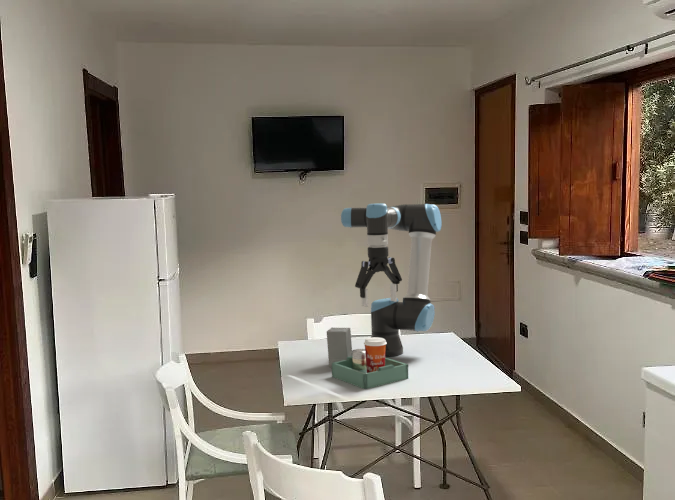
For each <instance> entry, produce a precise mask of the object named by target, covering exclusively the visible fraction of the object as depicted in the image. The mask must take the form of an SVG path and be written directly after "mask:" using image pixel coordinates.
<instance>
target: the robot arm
mask: <svg viewBox="0 0 675 500" xmlns="http://www.w3.org/2000/svg"><path fill="white" fill-rule="evenodd" d="M340 221H341V224H342V226H343V227H344V228H350V229H351V228H366V230H367V231H366V238H367V239H366V243H367V244H366V245H367V246H368V247H367V257H368V261H366V260H362V261H361V265H360V266H361V267H360V269H359V272H358V276H357V279H356V282H355V285H354V287H355V288H357V289H359V296H360V298H361V307H363V308H369V296H368V295H369V291H368V288H367V287H368V285H369V283H370V282H371V280H372V278H373V277H374V275H375V274H376V273H379V272H383V273H384V274H385V276H386V277H387V278H388V279H389V280H390V282H391V283H389V290H390V291H389V293H390V297H387V298H380V299H376V300H373V301H372V303H371V306H370V324H371V326H370V328H371V336H370V338H373V337H378V338H384V339H385V340H386V342H387V344H386V348H385V358H389V357H394V356H400V355H402V354H404V346H403V344H402V340H401V338H400V333H399V331H413V332H427V331H429V330H430V329H431V327H432V325H433V323H434V321H435V320H434V319H435V314H436V313H435V312H436V311H435V309H436V308H435V305H434V304H432V303H431V301H432V300H431V298H430V296H428V291H429V280H430V279H429V278H430V270H431V269H430V266H431V255H432V241H433V240H434V239H435V238H436V235H437V233H438V232H441V230H442V224H443V223H442V215H441V212H440V208H439V207H438V206H437V205H436V204H432V203H431V204H430V203H418V204H417V203H415V204H407V203H406V204H397V205H392V206H388V205H387V204H386V203H385V202H384V203H380V202H379V203H368V204H367V205H366V207H345V208H343V210H342V211H341V214H340ZM388 230H394V231H400V232H408V236H409V237H410V239H411V241H410V252H409V253H410V255H409V265H408V276H407V277H408V278H407V288H406V289H407V290H406V294H405V295H404V296H403V297H402V302H401V301H400V300H399V298H398V297H397V295H398V294H397V293H398V291H399V289H398V288H399V285H400V283H401V282H402V280H403V279H402V276H401V274H400V271H399V269H398V266H397V265H396V260H395V259H396V258H395V257H390V256H389V232H388Z"/></svg>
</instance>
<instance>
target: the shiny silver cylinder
mask: <svg viewBox="0 0 675 500" xmlns="http://www.w3.org/2000/svg"><path fill="white" fill-rule="evenodd" d="M352 368H353V369H354V370H357V371H360V372H363V373H367V367H366V354H365V348H355V349H352Z"/></svg>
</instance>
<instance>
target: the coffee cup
mask: <svg viewBox="0 0 675 500" xmlns="http://www.w3.org/2000/svg"><path fill="white" fill-rule="evenodd" d="M386 344H387V342H386V340H385V339H384V338H378V337H373V338H371V337H367V338H365V339H364V342H363V345H364V349H365V354H366V367H367V373H369V372H373V371H378V370H379V367H383V366H385V358H386V357H385V348H386Z"/></svg>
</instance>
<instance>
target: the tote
mask: <svg viewBox="0 0 675 500" xmlns="http://www.w3.org/2000/svg"><path fill="white" fill-rule="evenodd" d="M331 377H332V378H334V379H337V380H339V381H343V382H345V383H348V384H350V385H353V386H356V387H358V388H360V389H363V390H368V389H372V388H376V387H381V386H384V385H388V384H391V383H395V382H400V381H405V380H409V364H408V363H405V362H402V361H399V360H395V359H392V358H389V357H385V366H383V367H379V370H378V371H373V372H369V373H363V372H360V371H357V370H354V369H353V368H352V356H350V357H347V360H343V361H339V362H334V363H332V368H331Z"/></svg>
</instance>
